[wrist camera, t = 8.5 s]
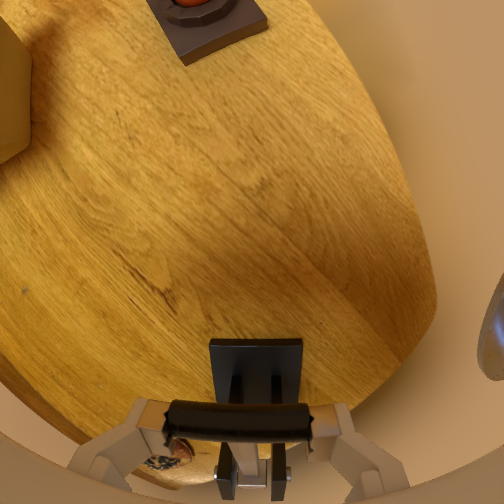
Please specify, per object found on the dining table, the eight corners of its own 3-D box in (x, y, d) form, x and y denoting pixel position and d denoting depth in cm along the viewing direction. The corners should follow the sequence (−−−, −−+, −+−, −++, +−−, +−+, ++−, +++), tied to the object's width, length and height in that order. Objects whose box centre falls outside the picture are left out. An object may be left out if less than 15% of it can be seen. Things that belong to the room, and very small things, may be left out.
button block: (267, 29, 19) (267, 7, 15) (185, 66, 20) (172, 49, 16) (220, -31, 17) (215, -53, 13) (149, 2, 18) (134, -16, 14)
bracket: (210, 338, 27) (177, 450, 14) (301, 338, 27) (323, 453, 14) (221, 416, 30) (204, 510, 17) (294, 416, 30) (302, 512, 17)
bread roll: (138, 412, 31) (130, 441, 26) (208, 441, 34) (206, 469, 29) (115, 435, 34) (108, 459, 29) (174, 460, 37) (171, 484, 32)
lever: (172, 383, 10) (161, 439, 8) (307, 386, 9) (312, 445, 7) (224, 463, 19) (222, 487, 17) (283, 464, 19) (283, 488, 17)
